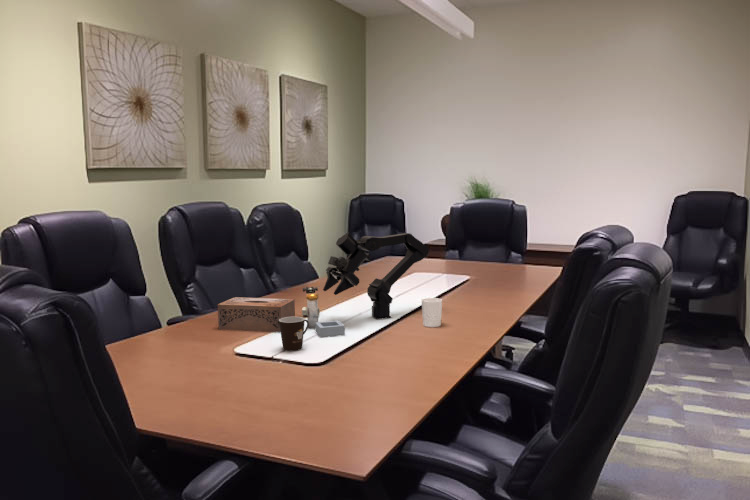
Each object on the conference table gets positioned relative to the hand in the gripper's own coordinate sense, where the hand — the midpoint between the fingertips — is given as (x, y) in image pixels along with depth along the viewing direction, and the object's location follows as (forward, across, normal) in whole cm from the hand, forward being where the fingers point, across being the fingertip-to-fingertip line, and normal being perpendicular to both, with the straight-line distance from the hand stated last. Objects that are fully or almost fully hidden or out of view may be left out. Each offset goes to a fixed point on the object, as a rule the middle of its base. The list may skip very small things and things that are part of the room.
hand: (329, 292), depth 234 cm
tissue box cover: (+27, -14, -8) cm, 31 cm away
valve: (+9, -18, +9) cm, 22 cm away
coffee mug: (+26, +23, -7) cm, 35 cm away
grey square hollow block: (+13, +12, +5) cm, 18 cm away
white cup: (-14, +23, +32) cm, 42 cm away
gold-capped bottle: (+14, 0, +4) cm, 15 cm away
